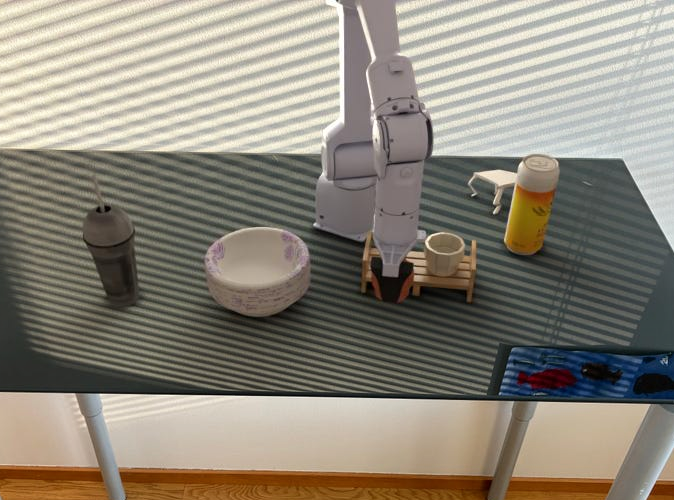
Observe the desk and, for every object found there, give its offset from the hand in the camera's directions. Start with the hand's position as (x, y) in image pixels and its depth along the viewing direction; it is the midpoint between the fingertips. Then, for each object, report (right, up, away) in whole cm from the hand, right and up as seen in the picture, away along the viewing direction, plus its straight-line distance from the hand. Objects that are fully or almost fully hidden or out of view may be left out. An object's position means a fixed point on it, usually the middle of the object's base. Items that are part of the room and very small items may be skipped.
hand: (391, 287), depth 108 cm
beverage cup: (-40, -1, +8) cm, 40 cm away
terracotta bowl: (0, -1, +1) cm, 1 cm away
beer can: (+23, +8, +17) cm, 29 cm away
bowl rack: (+5, +2, +10) cm, 11 cm away
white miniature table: (+22, +17, +26) cm, 38 cm away
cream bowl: (+8, +4, +7) cm, 12 cm away
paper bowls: (-19, -1, +8) cm, 20 cm away
